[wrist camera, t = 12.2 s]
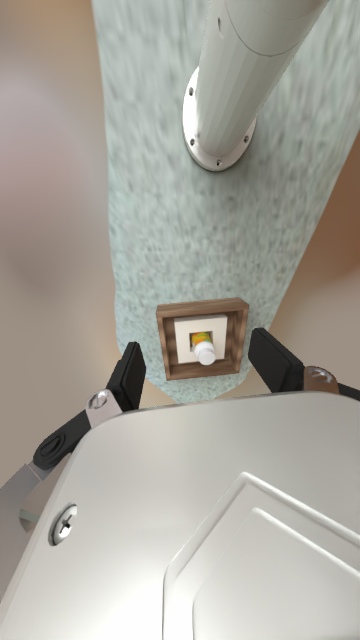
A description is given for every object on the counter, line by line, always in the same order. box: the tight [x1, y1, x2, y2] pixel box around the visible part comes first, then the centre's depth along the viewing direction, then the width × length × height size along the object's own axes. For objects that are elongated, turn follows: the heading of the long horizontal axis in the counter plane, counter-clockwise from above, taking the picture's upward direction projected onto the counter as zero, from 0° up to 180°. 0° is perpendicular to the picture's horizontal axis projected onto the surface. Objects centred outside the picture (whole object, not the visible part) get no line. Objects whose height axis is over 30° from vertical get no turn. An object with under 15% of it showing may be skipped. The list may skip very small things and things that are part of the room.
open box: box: [156, 297, 249, 381], centre depth 40 cm, size 22×22×6 cm
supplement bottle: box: [191, 332, 215, 365], centre depth 38 cm, size 5×5×10 cm
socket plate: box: [174, 314, 227, 363], centre depth 41 cm, size 14×14×2 cm
